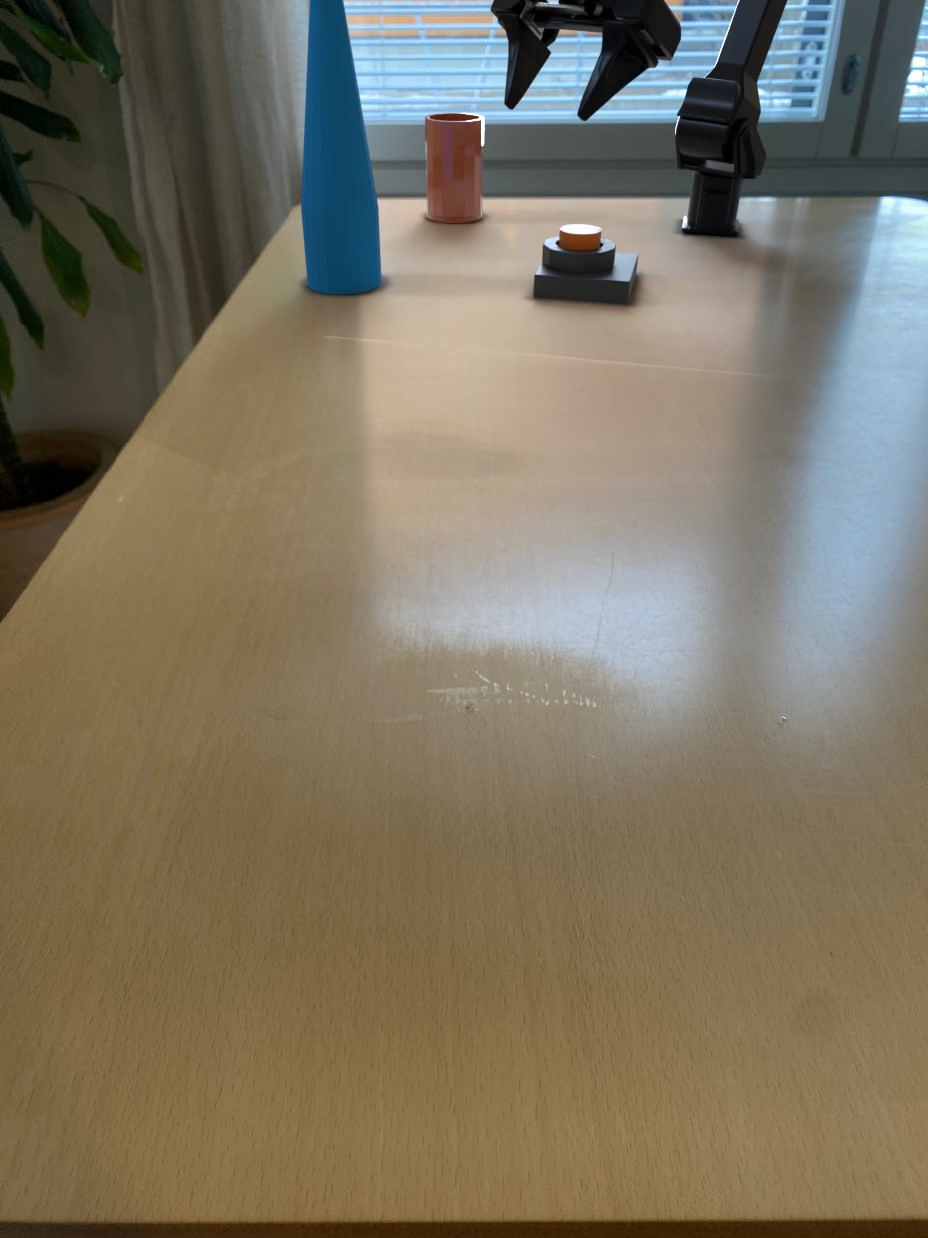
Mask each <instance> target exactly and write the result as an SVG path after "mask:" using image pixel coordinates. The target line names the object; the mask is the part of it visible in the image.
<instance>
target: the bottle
mask: <svg viewBox="0 0 928 1238" xmlns="http://www.w3.org/2000/svg"><path fill="white" fill-rule="evenodd" d="M308 7H309V8H308V10H309V11H308V32H307V33H308V35H307V55H306V57H307V58H306V77H305V78H306V82H305V102H304V103H305V104H304V127H303V128H304V130H303V152H302V153H303V154H302V172H301V173H302V176H301V196H300V197H301V200H300V201H301V202H300V212H301V223H302V224H301V225H302V235H303V247H304V259H305V267H306V268H305V269H306V280H307V282H306V283H307V287H308V288H309V289H310V290H312V291H315V292H318V293H323V294H327V295H357V294H363V293H367V292H371V291H375V290H376V289H377V288H379V287H380V286H381V285H382V283H383V282H382V281H383V279H382V262H381V261H382V257H381V238H380V237H381V236H380V234H381V233H380V211H379V210H380V209H379V202H378V197H377V191H376V184H375V178H374V174H373V172H374V171H373V166H372V159H371V155H370V150H369V149H370V147H369V143H368V138H367V132H366V125H365V120H364V114H363V108H362V103H361V102H362V101H361V96H360V90H359V84H358V79H357V73H356V66H355V61H354V55H353V49H352V44H351V37H350V31H349V25H348V20H347V15H346V14H347V13H346V8H345V2H344V0H309V6H308Z"/></svg>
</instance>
